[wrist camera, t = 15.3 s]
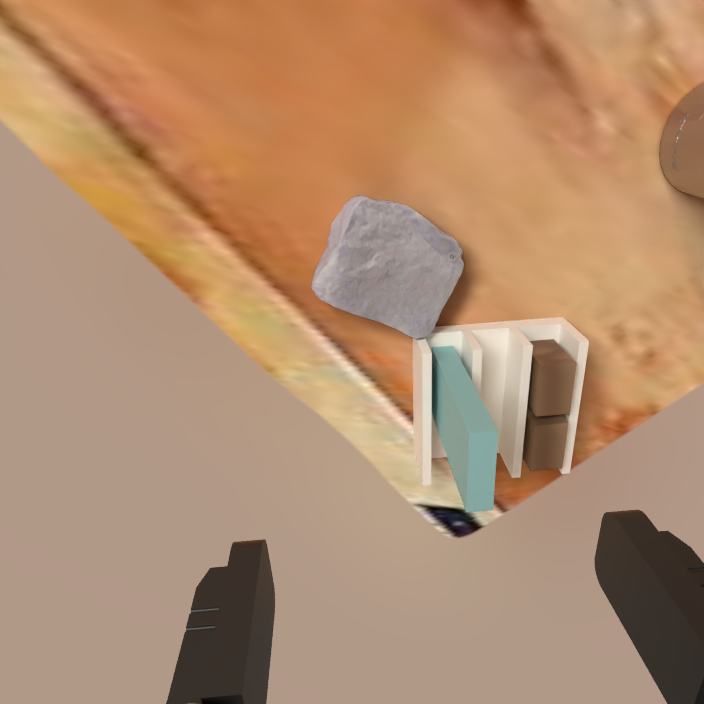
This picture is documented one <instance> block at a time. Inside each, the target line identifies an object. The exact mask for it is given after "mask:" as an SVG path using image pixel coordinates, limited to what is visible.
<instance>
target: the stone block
mask: <svg viewBox="0 0 704 704" xmlns="http://www.w3.org/2000/svg"><path fill="white" fill-rule="evenodd" d="M462 255H463V251H462V249H461V247H460V245H459V243H458V241H456V240H455V239H454V238H453V237H451V236H449V235H447V234H446V233H444V232H443V231H441V230H440V229H439V228H437V227H436V226H435V225H434V224H433V223H432V222H430V221H428V220H427V219H426V218H424V217H423V216H422V215H420V214H419V213H417V212H416V211H414V210H413V209H411V208H410V207H408V206H406V205H404V204H399V203H395V202H392V201H389V200H375V199H372V198H369V197H366V196H359V195H358V196H356V197H354V198H352V199H351V200H348V201H347V203H346V204H345V205H344V207H343V209H342V210H341V212H340V213H339V214H338V216H337V217H336V218H335V220H334V221H333V223H332V227H331V231H330V236H329V238H328V246H327V248H326V251H325V253H324V254H323V256H322V258H321V260H320V262H319V264H318V266H317V269H316V271H315V273H314V277H313V282H312V289H313V291H314V292H315V295H316V296H318V297H319V298H320V299H321V300H322V301H324V302H326V303H328V304H330V305H332V306H334V307H336V308H338V309H341V310H343V311H346V312H349V313H352V314H354V315H357V316H360V317H363V318H367V319H371V320H374V321H377V322H380V323H383V324H386V325H387V326H389V327H392V328H395V329H397V330H399V331H400V332H402V333H404V334H405V335H407V336H410V337H412V338H415V339H418V338H424V337H426V336H427V335H429V334H430V333H431V332H432V331H433V330H434V328H435V324H436V322H437V321H438V319H439V315H440V313H441V311H442V309H443V308H444V306H445V304H446V302H447V300H448V298H449V297H450V295H451V294H452V292H453V290H454V288H455V285H456V284H457V282H458V280H459V278H460V276H461V274H462V271H463V267H464V262H463V261H462V259H461V258H462Z"/></svg>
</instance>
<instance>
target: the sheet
mask: <svg viewBox="0 0 704 704" xmlns="http://www.w3.org/2000/svg"><path fill="white" fill-rule="evenodd" d="M432 415H433V418H434V421H435V424H436V427H437V430H438V432H439V435H440V438H441V441H442V444H443V447H444V450H445V453H446V456H447V458H448V461H449V464H450V467H451V470H452V473H453V476H454V479H455V482H456V484H457V487H458V490H459V493H460V496H461V499H462V502H463V505H464V507H465V510H466V512H476V511H488V510H493V502H494V488H495V474H496V459H497V445H498V430H497V428H496V426H495V424H494V422H493V420H492V418H491V416H490V414H489V412H488V411H487V409H486V407H485V405H484V403H483V401H482V399H481V397H480V395H479V394H478V392H477V390H476V388H475V386H474V384H473V382H472V380H471V378H470V376H469V375H468V373H467V371H466V369H465V367H464V365H463V363H462V361H461V359H460V358H459V356H458V354H457V352H456V350H455V348H454V346H453V345H452V346H439V347H432Z"/></svg>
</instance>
